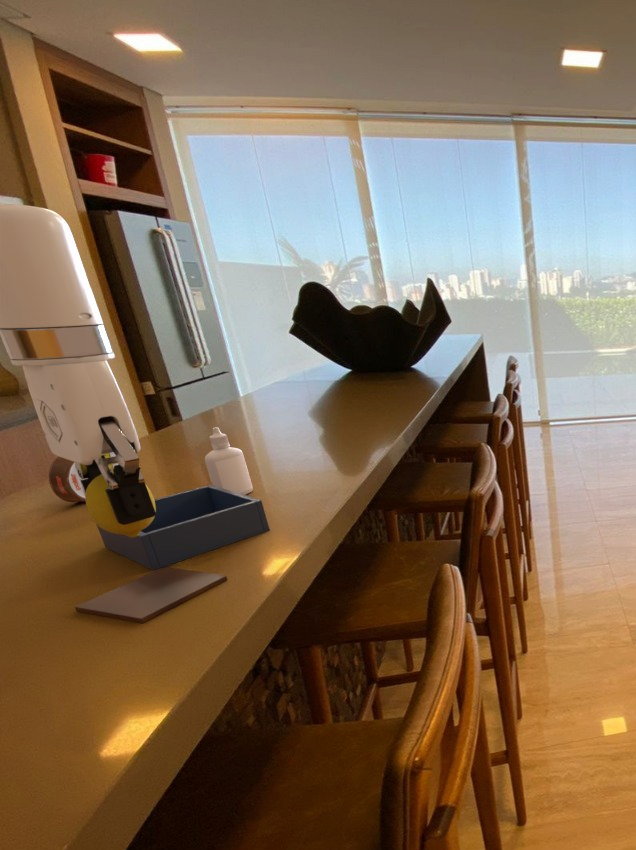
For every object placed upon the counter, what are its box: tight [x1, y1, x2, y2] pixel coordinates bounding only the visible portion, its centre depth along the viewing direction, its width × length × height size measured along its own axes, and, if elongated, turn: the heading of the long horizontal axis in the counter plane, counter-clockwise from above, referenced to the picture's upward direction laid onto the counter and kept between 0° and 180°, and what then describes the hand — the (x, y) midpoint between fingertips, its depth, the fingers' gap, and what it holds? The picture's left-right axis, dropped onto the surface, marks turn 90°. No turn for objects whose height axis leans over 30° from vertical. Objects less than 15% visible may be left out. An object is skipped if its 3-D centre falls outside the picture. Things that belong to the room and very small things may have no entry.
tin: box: [48, 452, 118, 503], centre depth 98 cm, size 15×3×8 cm, turn 6°
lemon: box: [85, 469, 156, 538], centre depth 62 cm, size 6×6×8 cm
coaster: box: [74, 566, 228, 624], centre depth 66 cm, size 10×10×1 cm
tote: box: [95, 484, 271, 571], centre depth 80 cm, size 15×15×5 cm
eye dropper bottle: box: [204, 426, 254, 496], centre depth 96 cm, size 4×6×12 cm
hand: (124, 513), depth 62 cm, fingers closed on lemon, 5 cm apart
